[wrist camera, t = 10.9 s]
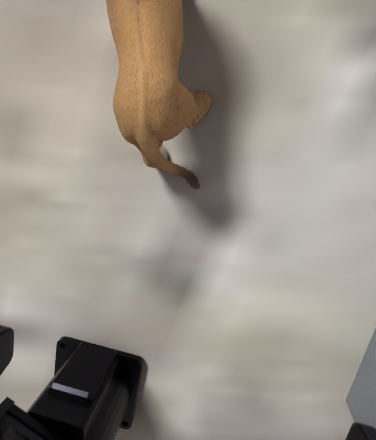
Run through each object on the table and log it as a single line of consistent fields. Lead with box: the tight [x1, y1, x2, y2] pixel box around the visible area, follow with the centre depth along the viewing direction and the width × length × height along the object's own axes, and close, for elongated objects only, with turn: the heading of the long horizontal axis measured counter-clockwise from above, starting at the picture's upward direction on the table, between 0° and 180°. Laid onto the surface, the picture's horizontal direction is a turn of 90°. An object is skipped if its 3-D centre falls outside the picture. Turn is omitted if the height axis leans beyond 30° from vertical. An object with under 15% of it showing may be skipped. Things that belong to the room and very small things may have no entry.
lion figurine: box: [106, 0, 211, 189], centre depth 13 cm, size 15×5×9 cm, turn 16°
